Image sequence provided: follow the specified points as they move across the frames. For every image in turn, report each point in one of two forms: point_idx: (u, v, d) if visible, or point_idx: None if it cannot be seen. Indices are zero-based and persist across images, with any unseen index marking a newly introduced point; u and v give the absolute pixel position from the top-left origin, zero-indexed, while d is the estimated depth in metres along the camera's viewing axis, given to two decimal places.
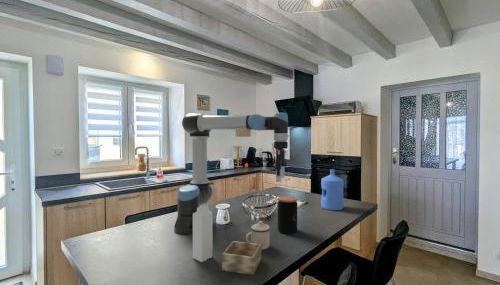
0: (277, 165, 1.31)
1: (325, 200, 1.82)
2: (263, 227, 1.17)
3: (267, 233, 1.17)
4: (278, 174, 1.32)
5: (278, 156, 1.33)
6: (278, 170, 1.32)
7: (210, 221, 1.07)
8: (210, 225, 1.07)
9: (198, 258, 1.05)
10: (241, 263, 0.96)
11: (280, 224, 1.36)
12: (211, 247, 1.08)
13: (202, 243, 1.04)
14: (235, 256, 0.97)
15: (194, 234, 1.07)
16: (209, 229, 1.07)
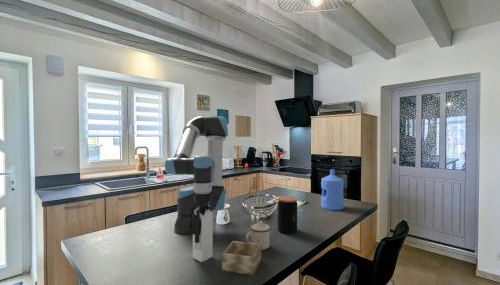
0: (194, 231, 1.01)
1: (325, 200, 1.82)
2: (263, 227, 1.17)
3: (267, 233, 1.17)
4: (196, 241, 1.02)
5: (195, 218, 1.01)
6: (196, 236, 1.02)
7: (210, 221, 1.07)
8: (210, 225, 1.07)
9: (198, 258, 1.05)
10: (241, 263, 0.96)
11: (280, 224, 1.36)
12: (211, 247, 1.08)
13: (202, 243, 1.04)
14: (235, 256, 0.97)
15: None
16: (209, 229, 1.07)
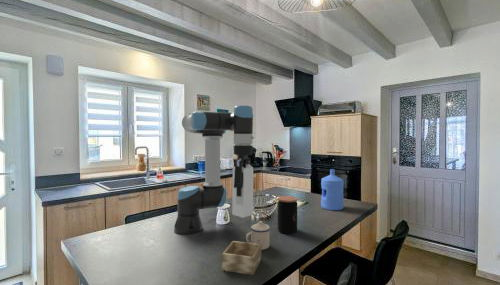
0: (236, 183, 0.95)
1: (325, 200, 1.82)
2: (263, 227, 1.17)
3: (267, 233, 1.17)
4: (239, 194, 0.96)
5: (237, 169, 0.95)
6: (238, 189, 0.96)
7: (251, 175, 1.01)
8: (251, 180, 1.01)
9: (239, 214, 0.99)
10: (241, 263, 0.96)
11: (280, 224, 1.36)
12: (252, 203, 1.02)
13: (244, 197, 0.98)
14: (235, 256, 0.97)
15: (234, 189, 1.01)
16: (250, 183, 1.01)
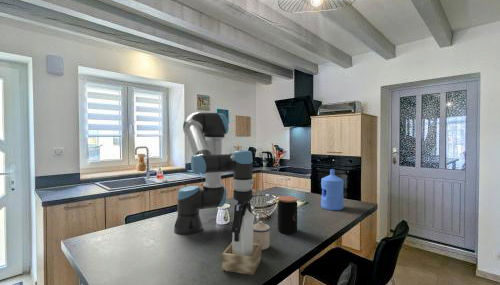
0: (234, 228, 0.93)
1: (325, 200, 1.82)
2: (263, 227, 1.17)
3: (267, 233, 1.17)
4: (236, 239, 0.94)
5: (236, 214, 0.95)
6: (236, 234, 0.94)
7: (251, 224, 1.02)
8: (251, 228, 1.02)
9: None
10: (241, 263, 0.96)
11: (280, 224, 1.36)
12: (251, 251, 1.02)
13: (244, 247, 0.99)
14: (235, 256, 0.97)
15: None
16: (250, 232, 1.01)
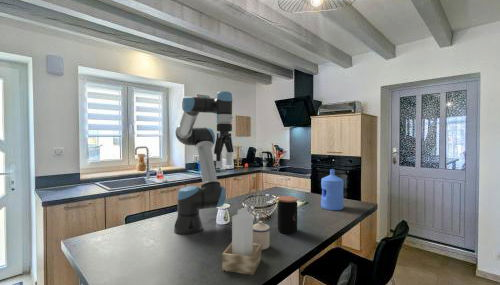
0: (216, 149, 1.17)
1: (325, 200, 1.82)
2: (263, 227, 1.17)
3: (267, 233, 1.17)
4: (218, 159, 1.18)
5: (218, 139, 1.19)
6: (218, 155, 1.18)
7: (250, 224, 1.02)
8: (251, 228, 1.02)
9: None
10: (241, 263, 0.96)
11: (280, 224, 1.36)
12: (251, 251, 1.02)
13: (244, 247, 0.99)
14: (235, 256, 0.97)
15: (234, 238, 1.01)
16: (250, 232, 1.01)
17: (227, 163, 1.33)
